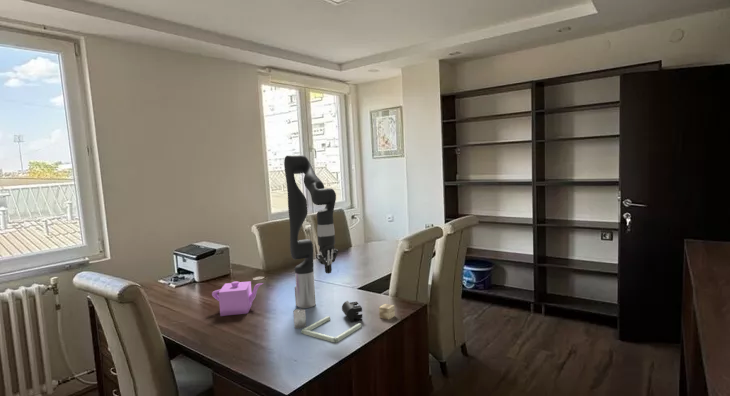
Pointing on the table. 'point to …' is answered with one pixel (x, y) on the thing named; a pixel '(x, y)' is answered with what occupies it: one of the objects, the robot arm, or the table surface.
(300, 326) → the grey metal tin
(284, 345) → the table surface
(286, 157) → the robot arm
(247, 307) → the teapot
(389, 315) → the maple block
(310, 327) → the pale green frame
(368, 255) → the table surface
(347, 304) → the end cap
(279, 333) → the table surface
